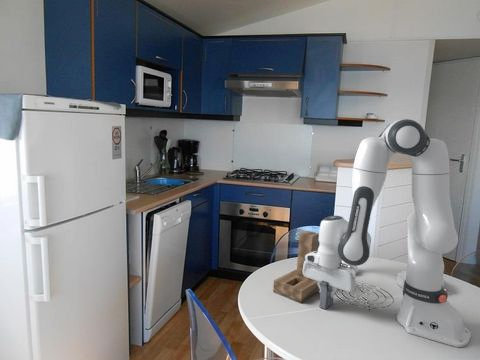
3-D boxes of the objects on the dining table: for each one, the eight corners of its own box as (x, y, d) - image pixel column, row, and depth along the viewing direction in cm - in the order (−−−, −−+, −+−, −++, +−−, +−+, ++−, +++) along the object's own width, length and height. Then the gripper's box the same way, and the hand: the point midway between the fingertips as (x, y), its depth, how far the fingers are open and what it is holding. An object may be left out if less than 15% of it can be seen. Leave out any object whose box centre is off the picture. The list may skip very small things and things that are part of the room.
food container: (433, 302, 146) (436, 285, 144) (386, 283, 161) (388, 268, 160) (454, 289, 158) (456, 274, 157) (408, 273, 173) (410, 259, 172)
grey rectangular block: (334, 302, 140) (336, 277, 138) (323, 310, 134) (325, 284, 132) (328, 300, 141) (330, 275, 140) (317, 307, 135) (319, 282, 134)
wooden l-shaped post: (322, 290, 151) (326, 236, 147) (300, 303, 139) (305, 244, 135) (295, 280, 159) (298, 228, 156) (273, 292, 147) (276, 236, 144)
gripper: (360, 265, 130) (357, 301, 132) (310, 250, 144) (308, 283, 146) (352, 269, 126) (349, 307, 128) (301, 254, 139) (299, 288, 141)
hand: (326, 294), depth 137 cm, fingers closed on grey rectangular block, 2 cm apart
